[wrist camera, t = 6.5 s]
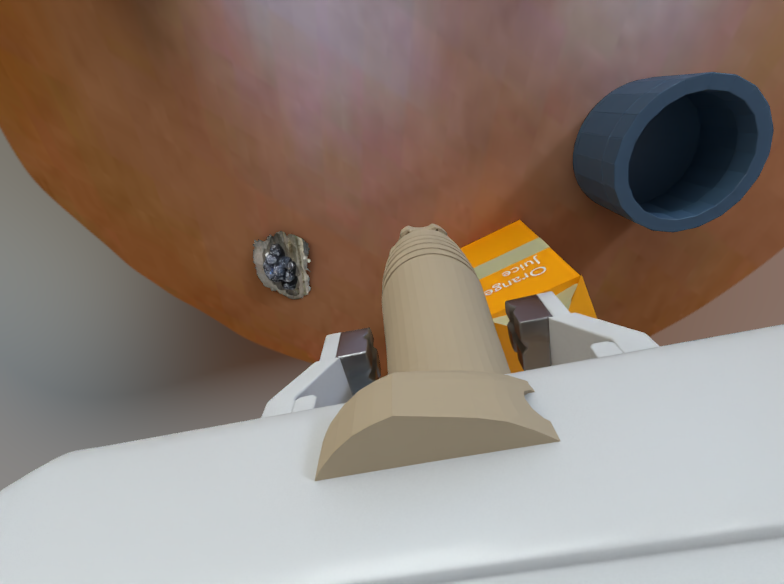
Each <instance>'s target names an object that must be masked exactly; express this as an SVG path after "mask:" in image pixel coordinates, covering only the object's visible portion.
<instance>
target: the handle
mask: <svg viewBox="0 0 784 584" xmlns="http://www.w3.org/2000/svg"><path fill="white" fill-rule="evenodd" d="M382 310H383V320H384V330H385V340H386V350H387V365H388V375H387V376H385V377H382V378H380V379H378V380H376V381H374V382H372V383H371V384H369V385H367V386H366V387H364V388H362V389H361V390H359V391H358V392H357V393H356V394H355V395H354V396H353V397H352V398H351V399H350V400H348V401H347V402H346V403H345V404H344V405H343V407H342V408H341V409H340V411H339V412H338V414H337V415H336V416H335V418H334V419H333V420H332V422H331V424H330V425H329V427H328V430H327V432H326V434H325V437H324V440H323V443H322V448H321V452H320V457H319V461H318V466H317V471H316V476H315V481H319V480H325V479H331V478H337V477H343V476H349V475H355V474H361V473H367V472H373V471H379V470H385V469H391V468H397V467H403V466H409V465H415V464H421V463H427V462H434V461H440V460H446V459H452V458H459V457H465V456H471V455H477V454H484V453H490V452H496V451H502V450H509V449H515V448H521V447H527V446H534V445H540V444H546V443H553V442H559V441H560V439H559V437H558V435H557V433H556V431H555V429H554V427H553V425H552V423H551V421H549V420H547V419H545V418H543V417H542V416H541V415H540V414H538V413H537V412H536V411H535V410H533V409H532V408H531V406H530V405H529V403H528V402H527V401H526V399H525V396H524V395H526V394H527V393H532V392H535V391H534V389H533V388H532V387H531V386H530V385H529V383H528V381H525V380H522V379H519V378H516V377H512V376H509V375H504V374H510V373H511V371H510V368H509V366H508V363H507V360H506V357H505V354H504V351H503V349H502V346H501V343H500V340H499V337H498V334H497V331H496V328H495V325H494V322H493V319H492V316H491V313H490V310H489V307H488V304H487V301H486V297H485V294H484V291H483V288H482V286H481V283H480V281H479V279H478V277H477V275H476V273H475V271H474V269H473V267H472V265H471V264H470V262H469V260H468V259H467V258H466V256H465V254H464V253H463V252H462V250H461V249H460V248H459V247H458V246H457V244H456V243H455V242H454V241H452V240H451V239H450V238H449V237H448V236H447V233H446V232H445V230H444V229H443V228H441V227H440V226H438V225H435V224H430V225H429V226H427V227H421V228H416V227H411V226H407V227H405V228H404V229H402V230H401V232H400V238H399V240H398V242H397V243H396V244H395V246H394V247H392V248H391V250H390V253H389V257H388V260H387V263H386V267H385V271H384V276H383V285H382Z"/></svg>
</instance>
